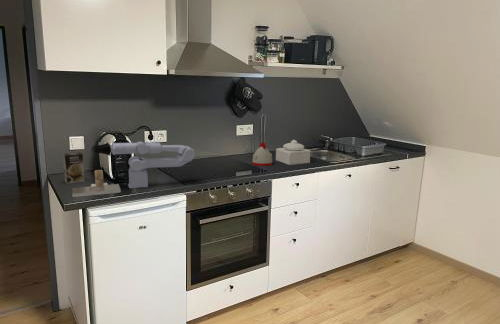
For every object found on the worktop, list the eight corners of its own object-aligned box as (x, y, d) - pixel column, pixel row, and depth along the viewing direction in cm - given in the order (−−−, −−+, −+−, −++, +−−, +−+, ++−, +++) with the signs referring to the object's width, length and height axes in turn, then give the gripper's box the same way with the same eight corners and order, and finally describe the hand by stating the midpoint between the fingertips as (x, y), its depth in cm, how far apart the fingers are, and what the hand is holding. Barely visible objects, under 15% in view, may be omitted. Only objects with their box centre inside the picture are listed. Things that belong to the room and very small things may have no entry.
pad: (107, 183, 210) (107, 182, 210) (108, 187, 203) (108, 186, 203) (91, 185, 207) (91, 184, 207) (91, 189, 200) (91, 188, 200)
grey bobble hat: (257, 166, 257) (257, 144, 254) (249, 162, 270) (249, 141, 267) (275, 165, 263) (276, 143, 260) (266, 161, 275) (267, 140, 272)
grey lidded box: (275, 160, 278) (276, 138, 275) (296, 158, 287) (297, 137, 283) (289, 165, 263) (290, 142, 260) (310, 163, 272) (311, 140, 268)
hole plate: (118, 187, 204) (118, 183, 203) (120, 193, 194) (120, 189, 193) (72, 191, 195) (72, 187, 194) (72, 198, 185) (72, 193, 185)
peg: (103, 184, 208) (102, 169, 206) (103, 186, 204) (102, 171, 203) (95, 184, 206) (94, 170, 204) (95, 186, 203) (94, 171, 201)
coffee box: (67, 184, 207) (64, 155, 204) (64, 182, 212) (62, 153, 209) (85, 182, 212) (82, 153, 209) (82, 179, 217) (80, 151, 214)
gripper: (121, 139, 205) (94, 139, 200) (124, 142, 192) (94, 142, 187) (122, 152, 207) (94, 153, 201) (124, 156, 193) (95, 157, 188)
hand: (94, 149), depth 194 cm, fingers open, 7 cm apart
